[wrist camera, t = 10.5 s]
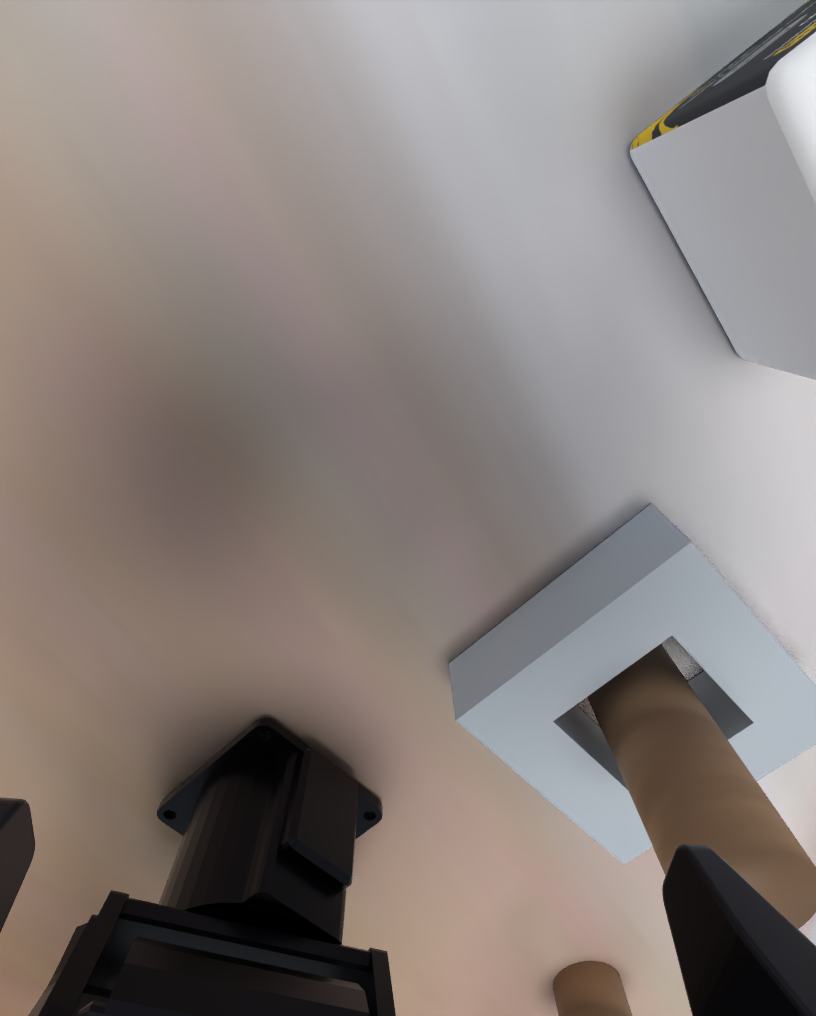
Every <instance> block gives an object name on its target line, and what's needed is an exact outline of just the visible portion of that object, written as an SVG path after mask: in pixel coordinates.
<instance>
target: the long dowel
mask: <svg viewBox="0 0 816 1016" xmlns="http://www.w3.org/2000/svg"><path fill="white" fill-rule="evenodd" d="M587 697H588V700H589V702H590V704H591V706H592V709H593V711H594V713H595V716H596V718H597V720H598V722H599V725H600V727H601V729H602V732H603V734H604V736H605V738H606V741H607V743H608V745H609V747H610V750H611V752H612V754H613V757H614V759H615V761H616V763H617V766H618V768H619V770H620V773H621V775H622V777H623V779H624V782H625V784H626V786H627V789H628V791H629V793H630V795H631V798H632V800H633V802H634V804H635V807H636V809H637V811H638V814H639V816H640V818H641V820H642V823H643V825H644V827H645V830H646V832H647V834H648V836H649V839H650V841H651V843H652V846H653V848H654V850H655V852H656V855H657V857H658V859H659V862H660V864H661V866H662V868H663V871H664V873H665V875H666V874H667V871H668V868H669V866H670V863H671V860H672V857H673V855H674V852H675V850H676V848H677V847H678V846H679V845H680V844H694V845H705V846H708V847H710V848H711V849H713V850H714V851H715V852H716V853H717V854H718V855H719V856H720V857H721V858H723V859H724V860H725V861H726V862H727V863H728V864H729V865H730V866H731V867H732V868H733V869H734V870H735V871H736V872H737V873H739V874H740V875H741V876H742V877H743V878H744V879H745V880H746V881H747V882H748V883H749V884H750V885H751V886H752V887H753V888H755V889H756V890H757V891H758V892H759V893H760V894H761V895H762V896H763V897H764V898H765V899H766V900H767V901H768V902H769V903H771V904H772V905H773V906H774V907H775V908H776V909H777V910H778V911H779V912H780V913H781V914H782V915H783V916H784V917H785V918H786V919H788V920H789V921H790V922H791V923H792V924H793V925H794V926H795V927H796V928H797V929H799V928H800V927H801V926H803V925H804V924H805V923H806V922H807V921H808V920H809V919H810V918H811V917H812V916H813V915H814V914H815V912H816V867H815V865H814V864H813V862H812V861H811V859H810V858H809V857H808V855H807V854H806V852H805V851H804V849H803V848H802V846H801V845H800V844H799V842H798V841H797V839H796V838H795V836H794V835H793V833H792V832H791V831H790V829H789V828H788V826H787V825H786V823H785V822H784V821H783V819H782V818H781V816H780V815H779V813H778V812H777V810H776V809H775V808H774V806H773V805H772V803H771V802H770V800H769V799H768V797H767V796H766V795H765V793H764V792H763V790H762V789H761V787H760V786H759V784H758V783H757V782H756V780H755V779H754V777H753V776H752V774H751V773H750V771H749V770H748V769H747V767H746V766H745V764H744V763H743V761H742V760H741V758H740V757H739V756H738V754H737V753H736V751H735V750H734V748H733V747H732V745H731V744H730V743H729V741H728V740H727V738H726V737H725V735H724V734H723V732H722V731H721V730H720V728H719V727H718V725H717V724H716V722H715V721H714V720H713V718H712V717H711V715H710V714H709V712H708V711H707V709H706V708H705V707H704V705H703V704H702V702H701V701H700V699H699V698H698V696H697V695H696V694H695V692H694V691H693V689H692V688H691V686H690V685H689V683H688V682H687V681H686V679H685V678H684V676H683V675H682V673H681V672H680V670H679V669H678V668H677V666H676V665H675V663H674V662H673V660H672V659H671V657H670V656H669V655H668V653H667V652H666V650H665V649H664V647H663V646H662V644H660V645H658V646H657V647H655V648H654V649H653V650H651V651H650V652H648V653H647V654H646V655H644V656H643V657H642V658H640V659H639V660H637V661H636V662H635V663H633V664H632V665H630V666H629V667H628V668H626V669H625V670H624V671H622V672H621V673H619V674H618V675H617V676H615V677H614V678H612V679H611V680H610V681H608V682H607V683H605V684H604V685H603V686H601V687H600V688H599V689H597V690H596V691H594V692H593V693H592V694H590V695H589V696H587Z"/></svg>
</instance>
